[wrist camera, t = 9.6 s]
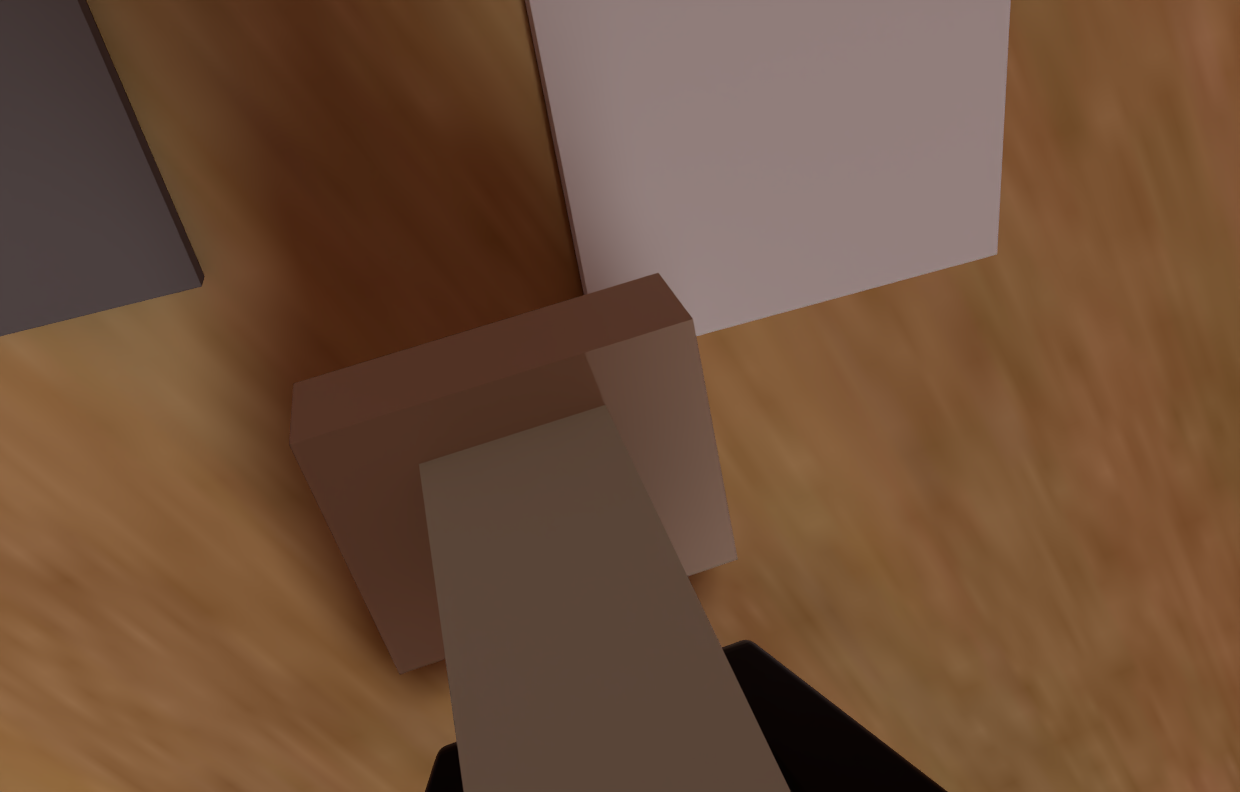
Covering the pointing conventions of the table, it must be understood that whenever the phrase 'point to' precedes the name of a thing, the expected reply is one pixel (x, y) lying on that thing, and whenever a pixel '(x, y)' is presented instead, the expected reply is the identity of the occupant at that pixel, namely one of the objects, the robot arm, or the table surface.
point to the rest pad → (774, 143)
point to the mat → (76, 178)
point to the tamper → (546, 541)
